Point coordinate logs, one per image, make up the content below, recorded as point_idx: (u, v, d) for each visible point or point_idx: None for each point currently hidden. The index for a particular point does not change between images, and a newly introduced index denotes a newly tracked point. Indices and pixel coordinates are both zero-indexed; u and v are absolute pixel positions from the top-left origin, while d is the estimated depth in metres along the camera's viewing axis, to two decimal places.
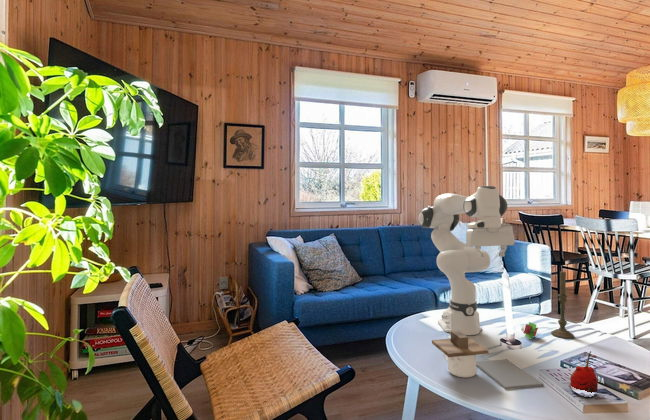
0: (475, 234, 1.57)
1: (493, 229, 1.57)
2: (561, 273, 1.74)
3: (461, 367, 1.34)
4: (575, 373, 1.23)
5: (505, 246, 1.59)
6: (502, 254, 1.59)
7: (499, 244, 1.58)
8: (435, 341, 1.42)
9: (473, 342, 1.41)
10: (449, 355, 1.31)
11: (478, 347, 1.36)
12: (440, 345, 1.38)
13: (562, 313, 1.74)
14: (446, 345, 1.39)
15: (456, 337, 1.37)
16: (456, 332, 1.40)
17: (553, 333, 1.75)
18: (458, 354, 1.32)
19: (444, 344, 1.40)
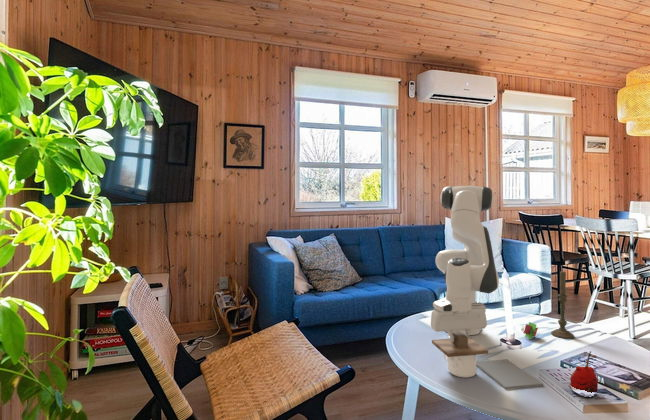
0: (441, 318, 1.36)
1: (462, 312, 1.35)
2: (561, 273, 1.74)
3: (461, 367, 1.34)
4: (575, 373, 1.23)
5: (469, 330, 1.38)
6: None
7: (468, 328, 1.37)
8: (435, 341, 1.43)
9: (473, 342, 1.41)
10: (448, 355, 1.31)
11: (478, 347, 1.36)
12: (440, 345, 1.39)
13: (562, 313, 1.74)
14: (446, 345, 1.39)
15: (456, 336, 1.37)
16: (456, 332, 1.40)
17: (553, 333, 1.75)
18: (457, 354, 1.32)
19: (444, 343, 1.40)
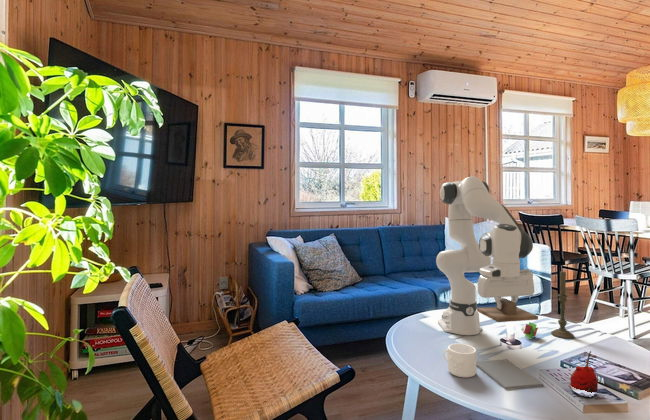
0: (489, 284, 1.34)
1: (510, 278, 1.33)
2: (561, 273, 1.74)
3: (461, 367, 1.34)
4: (575, 373, 1.23)
5: (516, 297, 1.36)
6: None
7: (516, 294, 1.35)
8: (481, 309, 1.41)
9: (520, 310, 1.39)
10: (498, 320, 1.29)
11: (526, 313, 1.34)
12: (487, 312, 1.37)
13: (562, 313, 1.74)
14: (493, 312, 1.37)
15: (504, 303, 1.35)
16: (503, 299, 1.38)
17: (553, 333, 1.75)
18: (507, 319, 1.30)
19: (491, 311, 1.38)
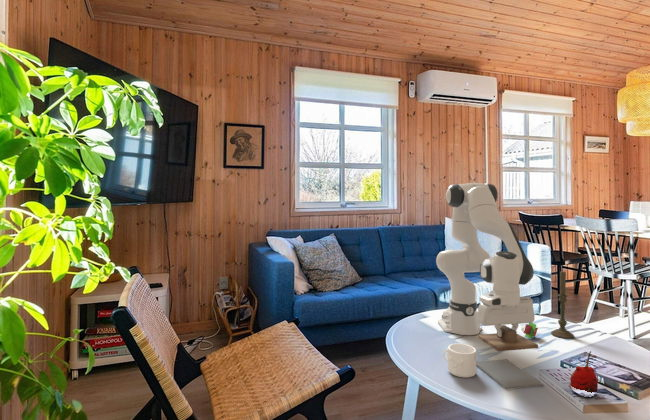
0: (489, 312, 1.34)
1: (510, 306, 1.34)
2: (561, 273, 1.74)
3: (461, 367, 1.34)
4: (575, 373, 1.23)
5: (517, 324, 1.36)
6: None
7: (516, 322, 1.36)
8: (481, 336, 1.41)
9: (520, 337, 1.39)
10: (498, 349, 1.29)
11: (527, 342, 1.34)
12: (487, 339, 1.37)
13: (562, 313, 1.74)
14: (493, 339, 1.37)
15: (504, 331, 1.35)
16: (503, 326, 1.38)
17: (553, 333, 1.75)
18: (508, 348, 1.30)
19: (491, 338, 1.38)
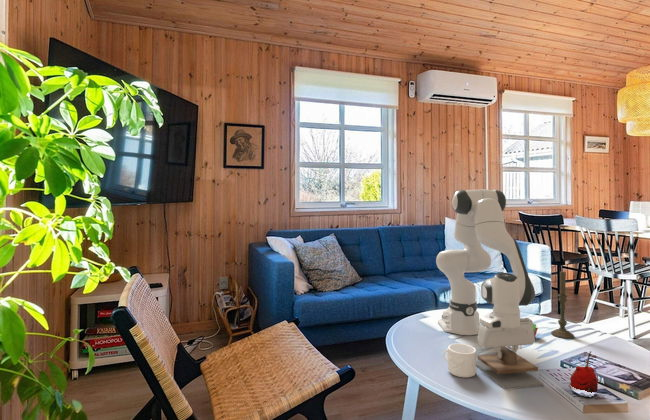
0: (489, 334, 1.34)
1: (511, 328, 1.34)
2: (561, 273, 1.74)
3: (461, 367, 1.34)
4: (575, 373, 1.23)
5: (517, 346, 1.37)
6: None
7: (516, 344, 1.36)
8: (481, 356, 1.41)
9: (520, 358, 1.39)
10: (499, 372, 1.30)
11: (527, 364, 1.34)
12: (487, 361, 1.37)
13: (562, 313, 1.74)
14: (493, 361, 1.37)
15: (504, 353, 1.36)
16: (503, 348, 1.39)
17: (553, 333, 1.75)
18: (508, 371, 1.30)
19: (491, 359, 1.38)
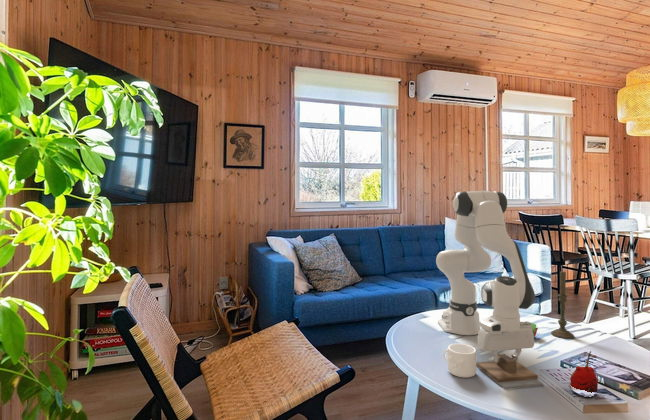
0: (489, 338, 1.34)
1: (510, 332, 1.34)
2: (561, 273, 1.74)
3: (461, 367, 1.34)
4: (575, 373, 1.23)
5: (519, 349, 1.37)
6: (515, 358, 1.37)
7: (516, 348, 1.36)
8: (481, 364, 1.41)
9: (520, 366, 1.39)
10: (498, 380, 1.30)
11: (526, 371, 1.35)
12: (487, 369, 1.37)
13: (562, 313, 1.74)
14: (493, 368, 1.37)
15: (504, 360, 1.36)
16: (503, 355, 1.39)
17: (553, 333, 1.75)
18: (507, 379, 1.30)
19: (491, 367, 1.39)
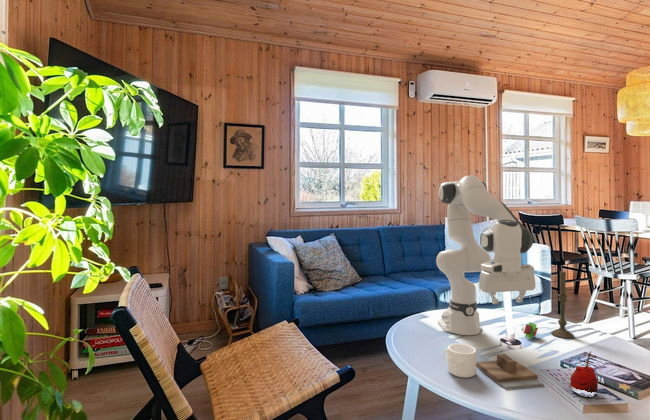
0: (491, 279, 1.35)
1: (512, 273, 1.35)
2: (561, 273, 1.74)
3: (461, 367, 1.34)
4: (575, 373, 1.23)
5: (524, 291, 1.38)
6: (520, 300, 1.38)
7: (517, 289, 1.37)
8: (481, 364, 1.41)
9: (520, 366, 1.39)
10: (498, 380, 1.30)
11: (526, 371, 1.35)
12: (487, 369, 1.37)
13: (562, 313, 1.74)
14: (493, 368, 1.37)
15: (504, 360, 1.36)
16: (503, 355, 1.39)
17: (553, 333, 1.75)
18: (507, 379, 1.30)
19: (491, 367, 1.39)
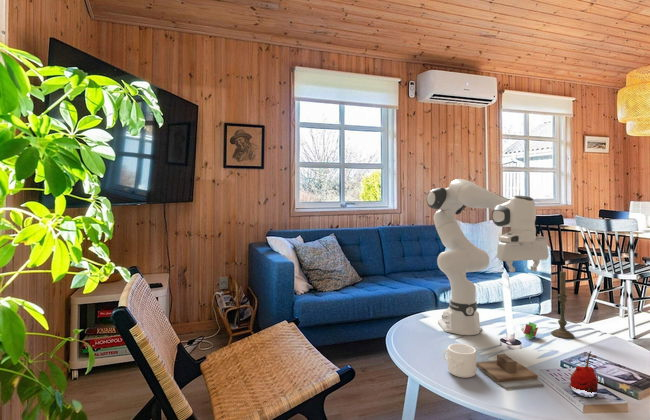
0: (508, 248, 1.48)
1: (527, 243, 1.48)
2: (561, 273, 1.74)
3: (461, 367, 1.34)
4: (575, 373, 1.23)
5: (538, 260, 1.51)
6: (534, 269, 1.51)
7: (532, 258, 1.50)
8: (481, 364, 1.41)
9: (520, 366, 1.39)
10: (498, 380, 1.30)
11: (526, 371, 1.35)
12: (487, 369, 1.37)
13: (562, 313, 1.74)
14: (493, 368, 1.37)
15: (504, 360, 1.36)
16: (503, 355, 1.39)
17: (553, 333, 1.75)
18: (507, 379, 1.30)
19: (491, 367, 1.39)
